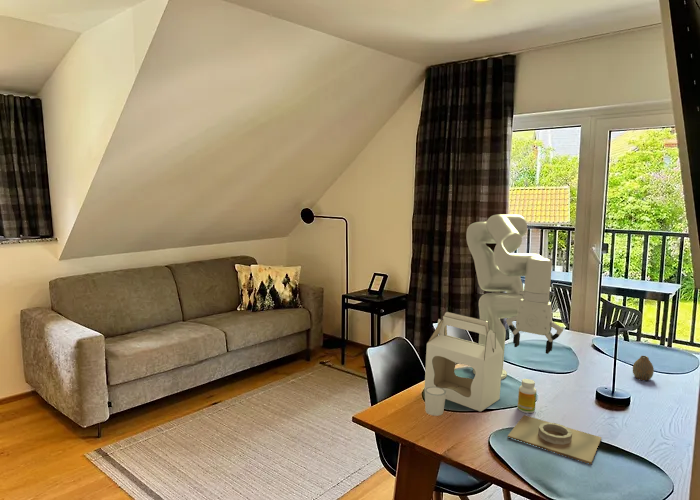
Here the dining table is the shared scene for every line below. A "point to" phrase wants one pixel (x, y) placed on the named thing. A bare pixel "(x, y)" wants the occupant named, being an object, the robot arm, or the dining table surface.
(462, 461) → the dining table surface
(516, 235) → the robot arm
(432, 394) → the white cup
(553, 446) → the socket board
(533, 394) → the supplement bottle
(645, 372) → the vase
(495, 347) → the gable box
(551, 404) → the dining table surface
